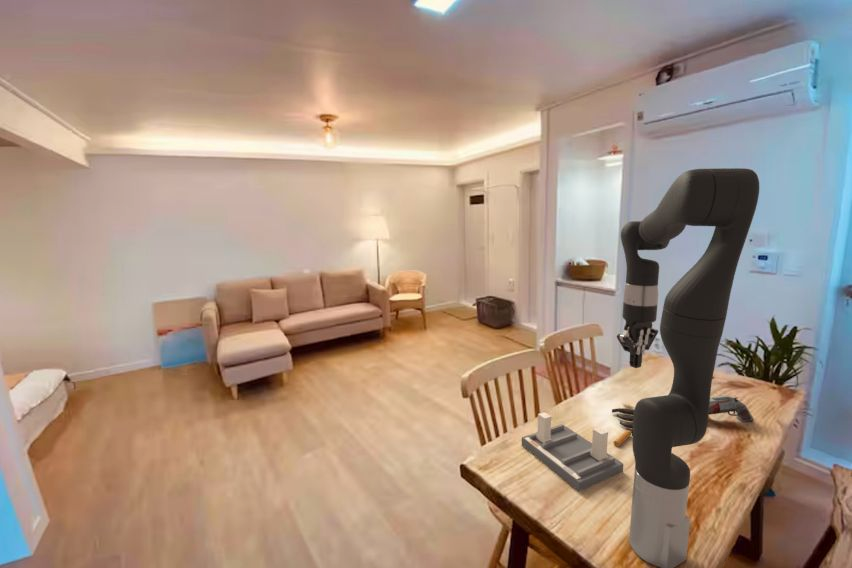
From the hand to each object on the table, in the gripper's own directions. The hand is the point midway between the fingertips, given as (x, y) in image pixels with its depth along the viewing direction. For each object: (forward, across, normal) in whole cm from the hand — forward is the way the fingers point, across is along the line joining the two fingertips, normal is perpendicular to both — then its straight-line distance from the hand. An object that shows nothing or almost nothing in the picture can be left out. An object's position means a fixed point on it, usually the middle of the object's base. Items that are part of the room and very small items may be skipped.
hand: (635, 366), depth 99 cm
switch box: (+29, -11, +10) cm, 33 cm away
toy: (+30, +21, +10) cm, 37 cm away
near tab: (+26, -7, +4) cm, 27 cm away
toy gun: (+29, +47, +4) cm, 55 cm away
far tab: (+26, -15, +17) cm, 34 cm away
